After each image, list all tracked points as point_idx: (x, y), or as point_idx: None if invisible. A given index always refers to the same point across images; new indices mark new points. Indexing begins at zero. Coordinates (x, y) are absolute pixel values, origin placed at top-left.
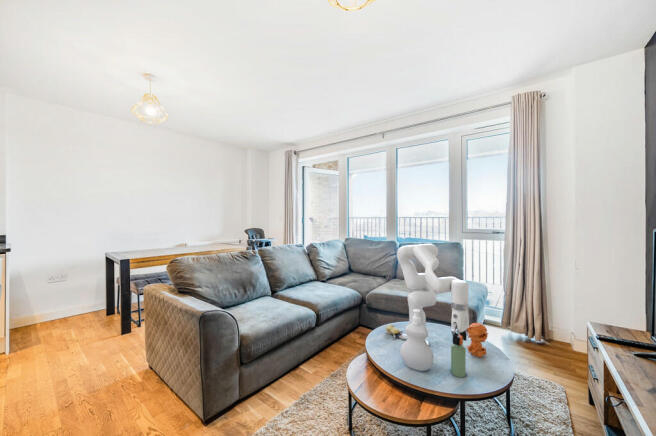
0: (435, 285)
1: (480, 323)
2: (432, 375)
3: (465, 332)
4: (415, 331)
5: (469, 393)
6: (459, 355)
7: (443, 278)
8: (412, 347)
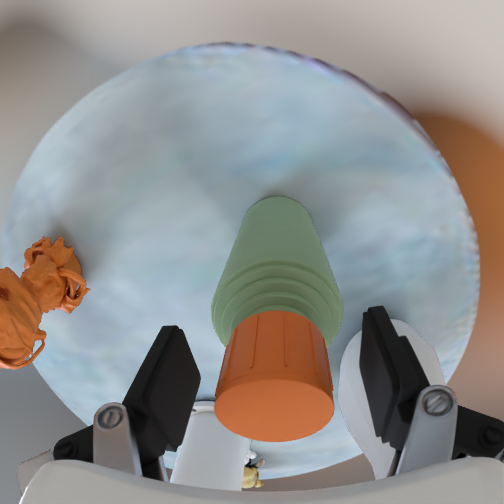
0: None
1: None
2: (393, 288)
3: (133, 407)
4: None
5: (393, 112)
6: (324, 259)
7: None
8: None
